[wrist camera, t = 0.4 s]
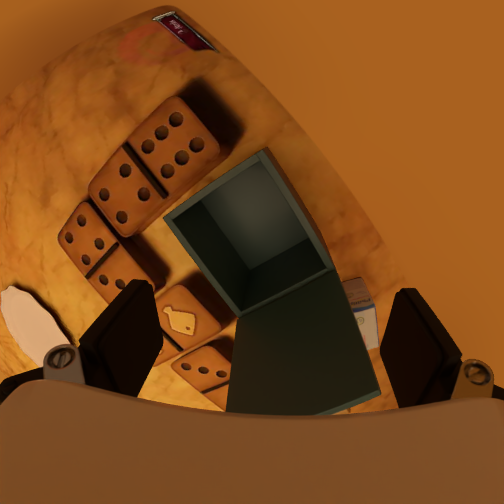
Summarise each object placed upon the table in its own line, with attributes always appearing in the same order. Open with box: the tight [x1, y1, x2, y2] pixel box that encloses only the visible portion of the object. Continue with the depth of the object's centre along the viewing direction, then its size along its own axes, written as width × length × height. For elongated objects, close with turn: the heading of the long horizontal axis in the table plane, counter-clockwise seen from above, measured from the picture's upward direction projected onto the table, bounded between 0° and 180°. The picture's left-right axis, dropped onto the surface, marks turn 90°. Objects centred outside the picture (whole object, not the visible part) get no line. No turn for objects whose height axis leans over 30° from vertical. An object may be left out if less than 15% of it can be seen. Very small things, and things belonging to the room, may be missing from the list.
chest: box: [163, 147, 336, 319], centre depth 34 cm, size 15×13×12 cm
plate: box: [1, 285, 71, 367], centre depth 56 cm, size 29×29×2 cm
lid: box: [226, 270, 381, 416], centre depth 25 cm, size 15×13×5 cm
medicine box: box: [342, 278, 379, 350], centre depth 40 cm, size 8×4×9 cm, turn 19°
